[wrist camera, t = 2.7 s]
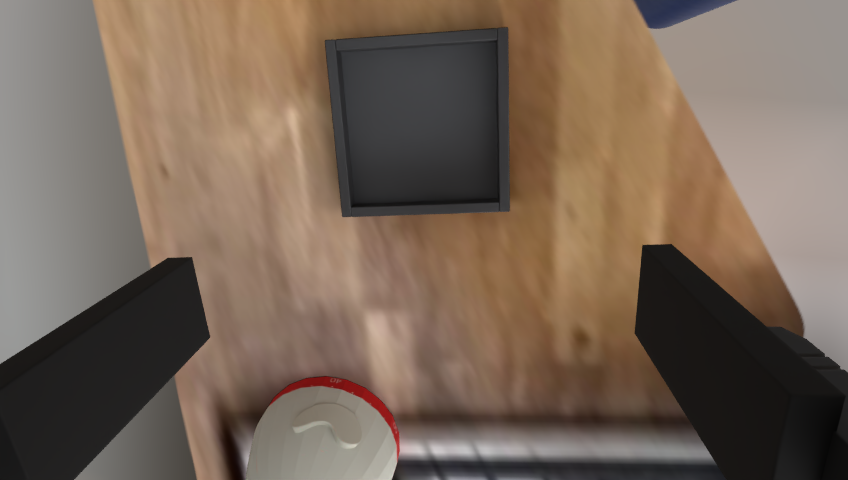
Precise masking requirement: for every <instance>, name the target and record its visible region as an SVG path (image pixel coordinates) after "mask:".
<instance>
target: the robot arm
mask: <svg viewBox="0 0 848 480" xmlns="http://www.w3.org/2000/svg"><path fill="white" fill-rule="evenodd" d="M635 335H636V336H637V338H638V339H639V341H640V343H641V344H642V346H643V347H644V349H645V350H646V352H647V354H648V355H649V357H650V358H651V360H652V362H653V363H654V365H655V366H656V368H657V370H658V371H659V373H660V374H661V376H662V378H663V379H664V381H665V382H666V384H667V386H668V387H669V389H670V390H671V392H672V394H673V395H674V397H675V398H676V400H677V402H678V403H679V405H680V406H681V408H682V410H683V411H684V413H685V414H686V416H687V418H688V419H689V421H690V422H691V424H692V425H693V427H694V429H695V430H696V432H697V433H698V435H699V437H700V438H701V440H702V441H703V443H704V445H705V446H706V448H707V449H708V451H709V453H710V454H711V456H712V457H713V459H714V461H715V462H716V464H717V465H718V467H719V469H720V470H721V472H722V473H723V475H724V477H725V478H726V480H848V372H846V371H845V370H841V369H840V366H839V365H838V364H837V363H835V362H834V361H833V360H832V359H830V358H829V357H825V354H824V353H823V352H821V351H820V350H819V349H817V348H816V347H815V346H814V345H813V344H812V343H810V342H809V341H808V340H807V339H805V338H803V337H801V336H799V335H796V334H794V333H792V332H790V331H788V330H786V329H784V328H782V327H766V326H765V325H764V324H763V323H762V322H760V321H759V320H758V319H757V318H756V317H755V316H754V315H752V314H751V313H750V312H749V311H748V310H747V309H746V308H744V307H743V306H742V305H741V304H740V303H739V302H737V301H736V300H735V299H734V298H733V297H732V296H731V295H729V294H728V293H727V292H726V291H725V290H724V289H722V288H721V287H720V286H719V285H718V284H717V283H716V282H714V281H713V280H712V279H711V278H710V277H709V276H707V275H706V274H705V273H704V272H703V271H702V270H701V269H699V268H698V267H697V266H696V265H695V264H694V263H693V262H691V261H690V260H689V259H688V258H687V257H686V256H684V255H683V254H682V253H681V252H680V251H679V250H678V249H676V248H675V247H674V246H673V245H672V244H665V245H643V246H642V257H641V268H640V280H639V291H638V302H637V313H636V325H635ZM209 338H210V334H209V330H208V326H207V321H206V317H205V312H204V308H203V304H202V299H201V295H200V291H199V286H198V282H197V277H196V273H195V269H194V264H193V260H192V257H186V258H167V259H166V260H164V261H162V262H161V263H159V264H158V265H156V266H155V267H153V268H151V269H150V270H149V271H147V272H145V273H144V274H142V275H140V276H139V277H137V278H136V279H134V280H132V281H131V282H129V283H128V284H126V285H125V286H123V287H121V288H120V289H118V290H117V291H115V292H113V293H112V294H110V295H109V296H107V297H106V298H104V299H102V300H101V301H99V302H98V303H96V304H94V305H93V306H91V307H90V308H88V309H87V310H85V311H83V312H82V313H80V314H79V315H77V316H76V317H74V318H72V319H71V320H69V321H68V322H66V323H65V324H63V325H61V326H60V327H58V328H56V329H55V330H53V331H52V332H50V333H49V334H47V335H46V336H44V337H42V338H41V339H39V340H38V341H36V342H34V343H33V344H31V345H30V346H28V347H26V348H25V349H23V350H22V351H20V352H19V353H17V354H15V355H14V356H12V357H11V358H9V359H7V360H6V361H4V362H3V363H1V364H0V480H74V479H75V478H76V477H77V476H78V475H79V474H80V472H82V471H83V470H84V468H86V467H87V465H88V464H89V463H90V462H91V461H92V460H93V459H94V458H95V457H96V456H97V455H98V454H99V453H100V452H101V451H102V450H103V449H104V448H105V447H106V446H107V445H108V444H109V442H110V441H111V440H112V439H113V438H114V437H115V436H116V435H117V434H118V433H119V432H120V431H121V430H122V429H123V428H124V427H125V426H126V425H127V424H128V423H129V422H130V421H131V420H132V419H133V417H134V416H135V415H136V414H137V413H138V412H139V411H140V410H141V409H142V408H143V407H144V406H145V405H146V404H147V403H148V402H149V401H150V400H151V399H152V398H153V397H154V396H155V395H156V393H157V392H158V391H159V390H160V389H161V388H162V387H163V386H164V385H165V384H166V383H167V382H168V381H169V380H170V379H171V378H172V377H173V376H174V375H175V374H176V373H177V372H178V371H179V370H180V369H181V367H182V366H183V365H184V364H185V363H186V362H187V361H188V360H189V359H190V358H191V357H192V356H193V355H194V354H195V353H196V352H197V351H198V350H199V349H200V348H201V347H202V346H203V345H204V343H205V342H206V341H207V340H208V339H209Z"/></svg>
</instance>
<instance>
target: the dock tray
mask: <svg viewBox="0 0 848 480" xmlns="http://www.w3.org/2000/svg"><path fill="white" fill-rule="evenodd" d="M325 48H326V58H327V68H328V78H329V88H330V98H331V108H332V118H333V129H334V139H335V149H336V159H337V169H338V179H339V189H340V199H341V209H342V217H362V216H392V215H422V214H452V213H482V212H499V211H500V212H509V211H510V184H509V62H508V27H504V28H490V29H476V30H462V31H448V32H434V33H419V34H405V35H391V36H377V37H363V38H348V39H336V40H325Z"/></svg>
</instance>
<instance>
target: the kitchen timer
mask: <svg viewBox="0 0 848 480" xmlns="http://www.w3.org/2000/svg"><path fill="white" fill-rule="evenodd" d="M399 451H400V450H399V432H398V429H397V426H396V424H395V421H394V418H393V416H392V415H391V413H390V412H389V410H388V409H387V408H386V406H385V405H384V404H383V402H382V401H381V400H380V399H378V398H377V397H376V396H375V395H373V394H372V393H371V392H370V391H368V390H367V389H366V388H364V387H362V386H359V385H357V384H355V383H353V382H350V381H348V380H345V379H339V378H333V377H327V376H325V377H314V378H306V379H303V380H301V381H298V382H296V383H293V384H290V385H288V386H287V387H286V388H285V389H284V390H282V391H281V392H280V393H279V394H277V395H276V396H275V397H274V399H273V400H272V402H271V403H270V405H269V406H268V408H267V410H266V411H265V413H264V414H263V416H262V418H261V419H260V421H259V423H258V425H257V427H256V430H255V433H254V437H253V442H252V446H251V451H250V456H249V461H248V467H247V472H246V480H392V477H393V474H394V471H395V468H396V464H397V461H398V456H399Z"/></svg>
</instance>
